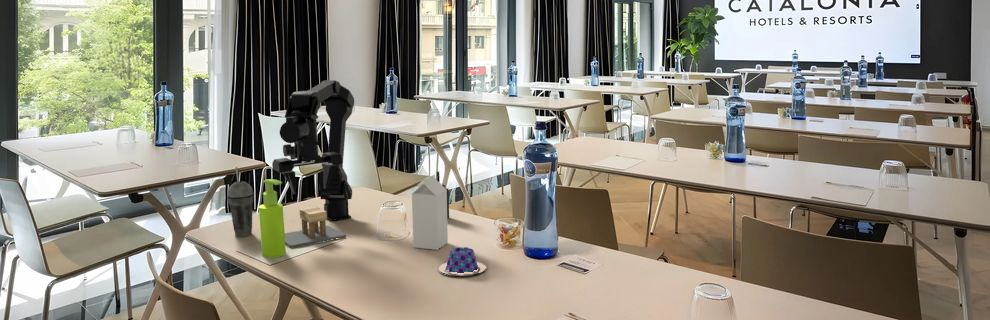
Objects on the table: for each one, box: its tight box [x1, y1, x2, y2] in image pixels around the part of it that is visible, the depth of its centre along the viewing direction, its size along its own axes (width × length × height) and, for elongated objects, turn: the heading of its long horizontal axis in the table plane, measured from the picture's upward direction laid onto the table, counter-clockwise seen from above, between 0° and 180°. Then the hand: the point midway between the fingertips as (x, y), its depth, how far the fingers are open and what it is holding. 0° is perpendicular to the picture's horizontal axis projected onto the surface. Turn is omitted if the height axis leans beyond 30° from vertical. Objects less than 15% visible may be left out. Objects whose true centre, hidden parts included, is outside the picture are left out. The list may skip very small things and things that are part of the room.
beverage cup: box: [226, 166, 255, 238], centre depth 198 cm, size 7×7×20 cm
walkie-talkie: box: [436, 171, 450, 219], centre depth 214 cm, size 5×3×15 cm
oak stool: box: [299, 206, 328, 238], centre depth 197 cm, size 7×5×7 cm
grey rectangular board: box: [284, 225, 347, 249], centre depth 197 cm, size 16×12×1 cm
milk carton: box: [411, 174, 449, 251], centre depth 187 cm, size 7×7×19 cm
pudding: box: [437, 246, 487, 276], centre depth 170 cm, size 12×12×5 cm
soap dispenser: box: [258, 178, 287, 259], centre depth 181 cm, size 6×7×20 cm
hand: (310, 191), depth 197 cm, fingers open, 9 cm apart
